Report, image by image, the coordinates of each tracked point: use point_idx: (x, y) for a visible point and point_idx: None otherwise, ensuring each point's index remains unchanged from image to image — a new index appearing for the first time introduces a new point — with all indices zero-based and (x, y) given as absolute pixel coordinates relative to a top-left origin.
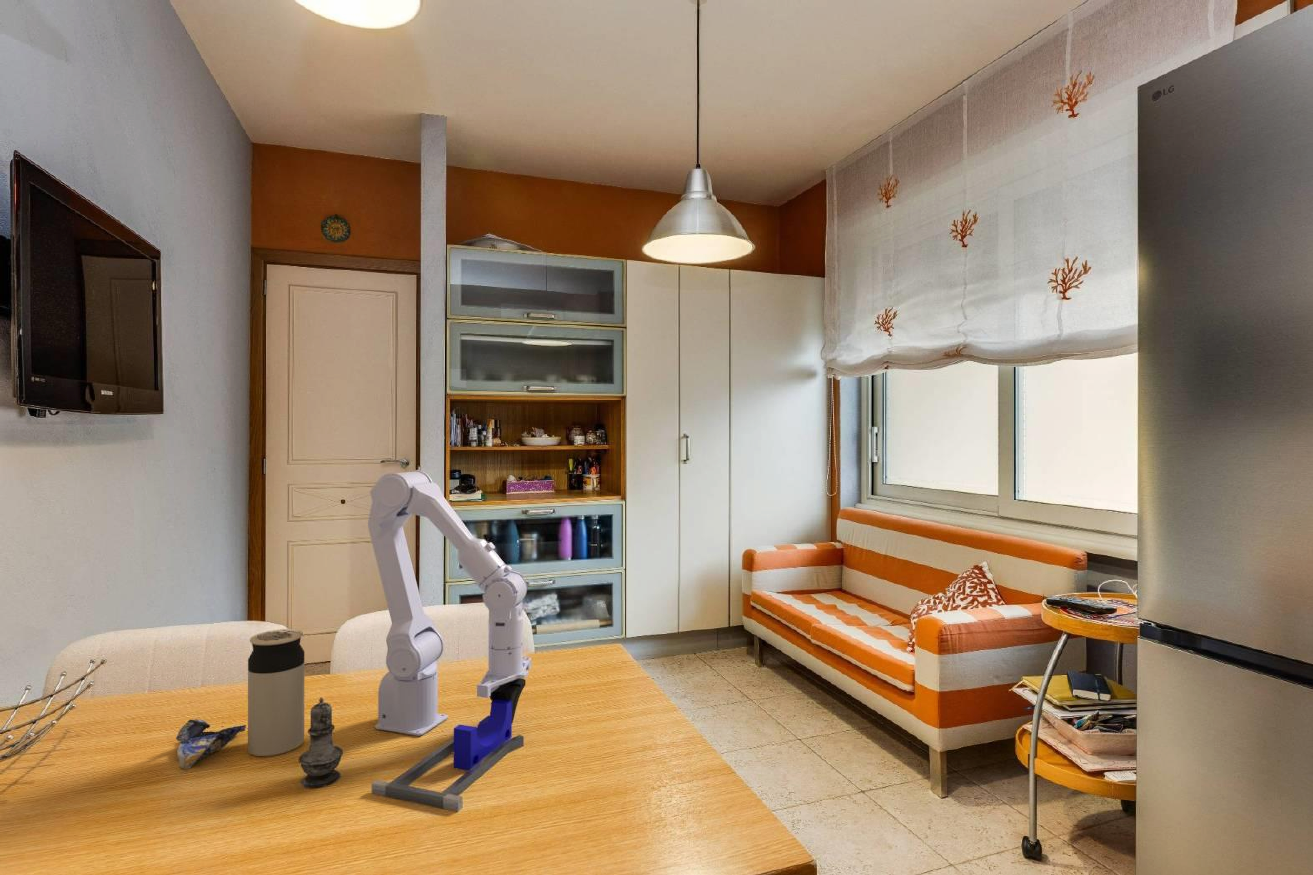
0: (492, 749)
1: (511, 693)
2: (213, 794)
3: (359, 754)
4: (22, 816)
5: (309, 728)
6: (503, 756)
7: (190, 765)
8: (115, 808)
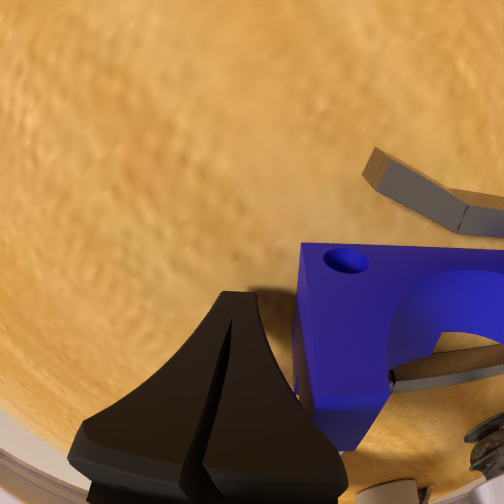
0: (456, 255)
1: (337, 458)
2: None
3: (420, 446)
4: (476, 478)
5: None
6: (478, 193)
7: (429, 489)
8: None
